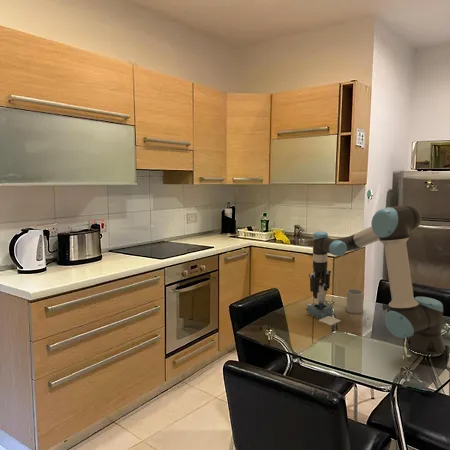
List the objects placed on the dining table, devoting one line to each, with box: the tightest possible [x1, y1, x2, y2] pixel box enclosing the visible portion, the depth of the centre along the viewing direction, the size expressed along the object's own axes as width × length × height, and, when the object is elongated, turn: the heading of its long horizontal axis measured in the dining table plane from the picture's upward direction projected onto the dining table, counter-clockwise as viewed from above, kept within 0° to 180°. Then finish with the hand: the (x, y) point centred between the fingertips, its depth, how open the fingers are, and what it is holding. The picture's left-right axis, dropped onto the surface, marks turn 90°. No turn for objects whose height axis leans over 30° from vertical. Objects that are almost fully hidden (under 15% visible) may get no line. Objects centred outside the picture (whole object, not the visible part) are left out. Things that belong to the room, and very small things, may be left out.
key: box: [316, 280, 325, 309], centre depth 218 cm, size 4×6×15 cm, turn 29°
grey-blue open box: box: [304, 302, 334, 320], centre depth 222 cm, size 14×10×4 cm, turn 37°
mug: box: [345, 288, 364, 315], centre depth 223 cm, size 12×8×11 cm
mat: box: [318, 315, 342, 326], centre depth 211 cm, size 8×8×1 cm
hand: (319, 302), depth 219 cm, fingers closed on key, 4 cm apart
